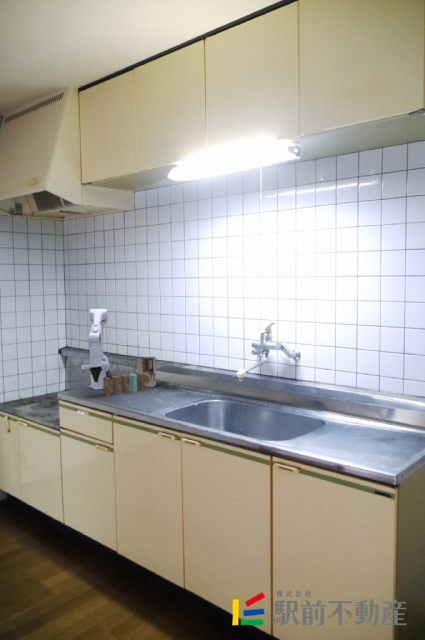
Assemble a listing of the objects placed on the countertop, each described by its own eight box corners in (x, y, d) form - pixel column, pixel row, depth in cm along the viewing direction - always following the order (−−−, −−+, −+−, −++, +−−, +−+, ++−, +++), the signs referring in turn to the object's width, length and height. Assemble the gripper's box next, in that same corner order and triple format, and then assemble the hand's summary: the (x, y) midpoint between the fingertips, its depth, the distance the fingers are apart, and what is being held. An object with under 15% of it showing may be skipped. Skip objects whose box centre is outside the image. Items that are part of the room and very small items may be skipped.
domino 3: (125, 393, 270) (124, 376, 269) (121, 391, 274) (120, 375, 273) (128, 392, 271) (128, 376, 270) (124, 391, 275) (124, 374, 274)
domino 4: (133, 392, 273) (133, 375, 272) (129, 390, 277) (129, 374, 276) (137, 391, 274) (136, 375, 273) (133, 390, 278) (132, 373, 277)
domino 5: (142, 391, 275) (141, 374, 275) (137, 389, 279) (137, 373, 279) (145, 390, 276) (145, 374, 276) (141, 389, 281) (141, 372, 280)
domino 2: (116, 394, 267) (115, 377, 266) (112, 392, 271) (112, 376, 270) (119, 394, 268) (119, 377, 267) (115, 392, 272) (115, 375, 271)
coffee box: (156, 384, 293) (156, 356, 291) (154, 386, 286) (153, 358, 285) (140, 384, 293) (140, 356, 292) (138, 386, 287) (137, 358, 286)
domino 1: (107, 395, 264) (106, 378, 263) (103, 394, 268) (103, 377, 267) (110, 395, 265) (110, 378, 264) (107, 393, 269) (106, 376, 269)
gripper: (84, 357, 254) (85, 384, 255) (111, 355, 262) (112, 381, 264) (79, 356, 260) (80, 382, 261) (106, 353, 268) (106, 379, 269)
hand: (95, 381), depth 263 cm, fingers closed
